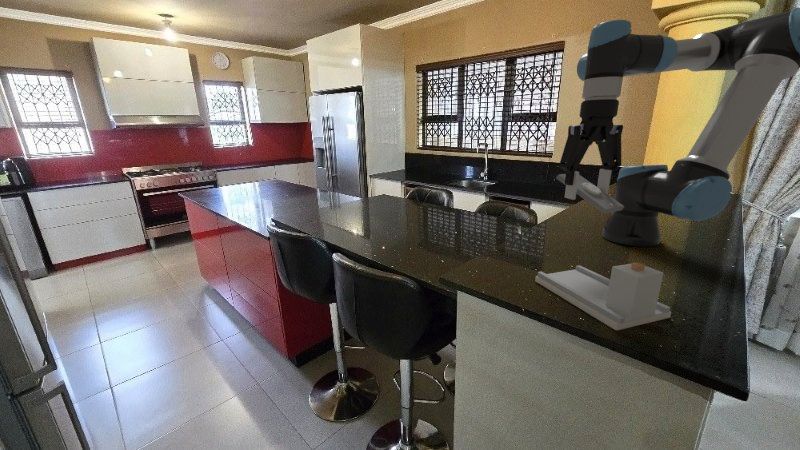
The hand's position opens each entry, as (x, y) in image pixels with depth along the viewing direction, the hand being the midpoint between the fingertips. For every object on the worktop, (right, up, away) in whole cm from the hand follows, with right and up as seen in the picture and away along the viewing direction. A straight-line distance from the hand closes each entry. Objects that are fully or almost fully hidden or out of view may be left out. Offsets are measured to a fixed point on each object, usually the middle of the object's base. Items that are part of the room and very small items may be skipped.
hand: (586, 197), depth 83 cm
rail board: (-5, -22, -13) cm, 26 cm away
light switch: (0, -3, 0) cm, 3 cm away
